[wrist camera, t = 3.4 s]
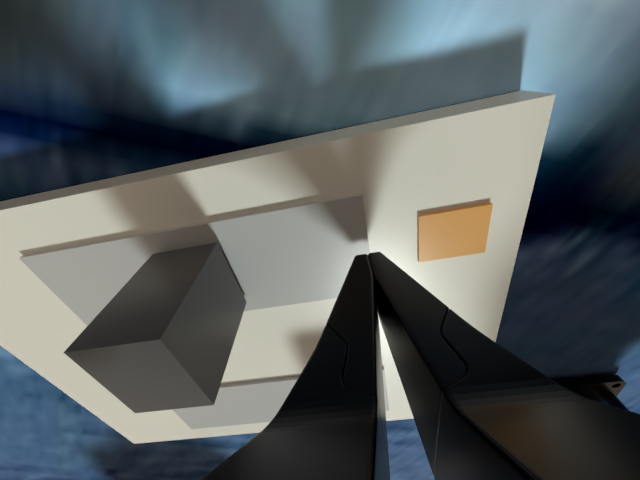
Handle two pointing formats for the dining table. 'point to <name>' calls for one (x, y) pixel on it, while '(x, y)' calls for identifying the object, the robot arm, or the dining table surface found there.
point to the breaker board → (279, 247)
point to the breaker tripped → (166, 332)
